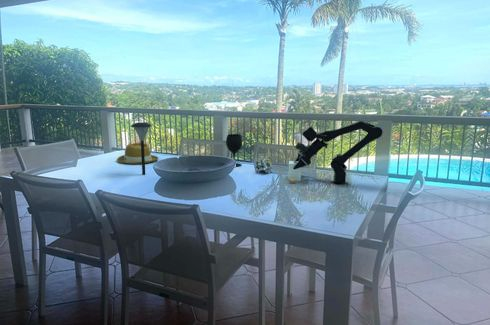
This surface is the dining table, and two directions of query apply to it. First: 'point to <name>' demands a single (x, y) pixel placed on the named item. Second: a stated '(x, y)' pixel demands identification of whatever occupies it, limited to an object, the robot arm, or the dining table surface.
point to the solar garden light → (142, 139)
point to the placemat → (285, 182)
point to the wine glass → (234, 144)
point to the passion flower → (264, 165)
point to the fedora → (136, 154)
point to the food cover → (294, 171)
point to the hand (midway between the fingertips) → (293, 167)
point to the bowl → (292, 180)
